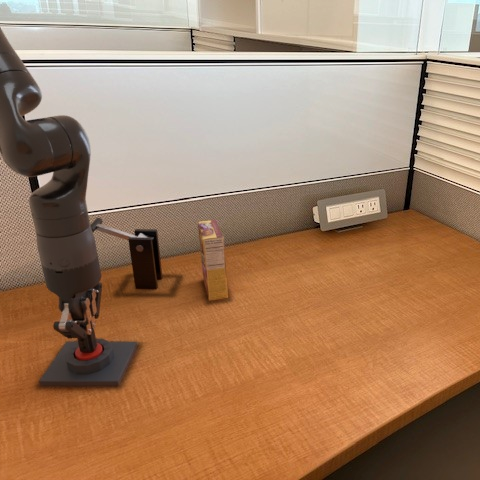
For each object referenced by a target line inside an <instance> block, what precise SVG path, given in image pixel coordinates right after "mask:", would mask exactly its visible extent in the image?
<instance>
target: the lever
mask: <svg viewBox="0 0 480 480" xmlns="http://www.w3.org/2000/svg"><path fill="white" fill-rule="evenodd" d="M90 225H91V229H92V232H93V233H95V232H96V231H99V232H101V233H104V234H108V235H110V236H114V237H117V238H120V239H123V240H125V241H128V239H129V238H130V237H144V238H152V241H153V237H151V236H148V235H145V234H142V233H140V234H139V235H138V236H135V234H131V233H129V232H126V231H123V230H119V229H117V228H113V227H110V226H109V225H104V224H103V219H102V218H101V217H96V218H95V219H94V220H93V221H92V222H90Z"/></svg>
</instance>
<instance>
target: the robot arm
mask: <svg viewBox="0 0 480 480" xmlns="http://www.w3.org/2000/svg"><path fill="white" fill-rule="evenodd" d="M42 99H43V94H42V90H41V88H40V86H39V84H38V82H37V81H36V80H35V78H34V77H33V76H32V74H31V72H30V71H29V69H28V68H27V66H26V65H25V64H24V62H23V60H22V59H21V58H20V56H19V55H18V53H17V51H16V50H15V49H14V47H13V46H12V44H11V43H10V41H9V40H8V38H7V36H6V35H5V32H4V31H3V30H2V27H1V26H0V156H1V158H2V160H3V162H4V163H5V165H6V166H7V167H8V168H9V169H10V170H12V171H13V172H14V173H15V174H18V175H20V176H22V177H26V178H34V177H39V176H43V175H46V174H51V173H52V176H51V178H50V180H49V181H48V182H47V183H45V184H44V185H42V186H40V187H38V188H37V189H35V190H34V191H33V192H32V193H31V194H30V195H29V196H28V197H29V198H28V204H29V209H30V213H31V217H32V222H33V226H34V230H35V237H36V248H37V253H38V256H39V261H40V265H41V269H42V274H43V277H44V281H45V286H46V288H47V289H48V291H49V292H51V293H53V294H54V295H56V296H57V297H58V309H59V311H60V312H61V316H60V320H59V321H54V322H53V325H52V327H53V330H54V331H56V332H58V334H60V335H62V336H63V337H65V338H66V339H77V341H78V344H79V349H80V351H81V352H82V353H92V352H94V350H95V348H96V347H97V342H96V339H97V337H96V332H95V328H96V325H97V324H96V320H97V319H99V318H100V311H101V302H102V301H101V300H102V291H103V283H102V282H101V279H102V271H101V266H100V260H99V255H98V250H97V243H96V238H95V234H94V232H92V229H91V225H90V224H91V221H90V216H89V210H88V204H87V189H88V183H89V182H88V181H89V172H90V165H91V155H92V154H91V153H92V152H91V143H90V138H89V136H88V134H87V131H86V129H85V128H84V127H83V125H82V124H81V122H79V121H78V120H77V119H75V118H74V117H72V116H70V115H65V114H64V115H63V114H62V115H59V114H58V115H53V116H47V117H41V118H35V119H28V120H26V119H24V118H23V116H26V115H28V114H29V113H31V112H33V111H34V110H35V109H37V108H38V107H39V105H40V104H41V103H42Z"/></svg>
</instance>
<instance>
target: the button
mask: <svg viewBox="0 0 480 480" xmlns="http://www.w3.org/2000/svg"><path fill="white" fill-rule="evenodd" d="M102 353H103V350H102V346H101V344H99V343H97V347H96V348H95V350H94V352H92V353H82V352H81V351H80V349H79V347H78V348H77V349H76V351H75V355H76V359H77V360H79V361H88V360H91V359H94V358H97V357H98V356H100V355H101V354H102Z"/></svg>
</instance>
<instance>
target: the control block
mask: <svg viewBox="0 0 480 480" xmlns="http://www.w3.org/2000/svg"><path fill="white" fill-rule="evenodd" d="M96 342H97V343H99V344H101V346H102V350H103V353H102V354H101V355H100V356H98V357H97V358H94V359H91V360H88V361H79V360H77V359H76V355H75V351H76V349H77V348H78V347H79V344H78V340H77V341H75V340H73V341H72V340H69V341H68V340H67V341H65V342H64V344H63V346H62V348H61V349H60V350H59V352H58V353H57V354H56V356H55V357H54V359H53V360H52V362H51V363H50V364H49V366H48V367H47V368H46V370H45V372H44V373H43V374H42V376H41V378H40V379H39V380H38V384H39V387H120V385H121V382H122V381H123V378H124V376H125V374H126V373H127V370H128V369H129V366H130V364H131V361H132V360H133V357H134V355H135V354H136V351H137V350H138V342H137V341H109V340H107V339H105V338H96Z"/></svg>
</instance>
